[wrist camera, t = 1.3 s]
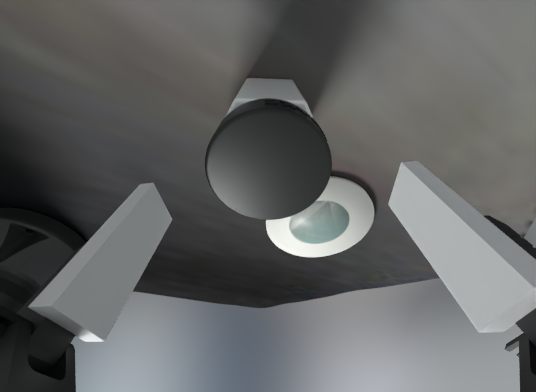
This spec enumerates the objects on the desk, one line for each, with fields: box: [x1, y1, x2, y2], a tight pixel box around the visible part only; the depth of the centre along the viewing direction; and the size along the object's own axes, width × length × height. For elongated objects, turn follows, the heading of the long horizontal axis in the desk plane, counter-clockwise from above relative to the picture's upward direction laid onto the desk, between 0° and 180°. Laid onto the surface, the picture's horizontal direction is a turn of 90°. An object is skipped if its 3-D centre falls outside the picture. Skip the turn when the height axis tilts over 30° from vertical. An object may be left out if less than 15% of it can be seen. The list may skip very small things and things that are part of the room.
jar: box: [205, 78, 332, 220], centre depth 18 cm, size 9×8×12 cm
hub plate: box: [266, 176, 374, 257], centre depth 32 cm, size 16×16×1 cm
